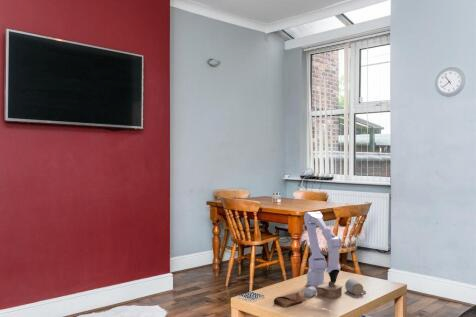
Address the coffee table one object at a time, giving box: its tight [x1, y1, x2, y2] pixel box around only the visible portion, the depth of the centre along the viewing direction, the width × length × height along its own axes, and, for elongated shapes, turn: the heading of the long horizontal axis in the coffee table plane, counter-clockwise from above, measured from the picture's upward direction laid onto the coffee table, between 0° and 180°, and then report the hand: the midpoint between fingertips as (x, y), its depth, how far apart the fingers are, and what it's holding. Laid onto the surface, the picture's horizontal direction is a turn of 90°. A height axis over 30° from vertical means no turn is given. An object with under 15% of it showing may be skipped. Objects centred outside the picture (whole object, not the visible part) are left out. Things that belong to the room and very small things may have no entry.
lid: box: [316, 280, 343, 291], centre depth 239 cm, size 10×10×2 cm
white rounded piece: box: [302, 285, 317, 298], centre depth 237 cm, size 6×5×5 cm
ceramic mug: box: [344, 278, 367, 296], centre depth 244 cm, size 11×8×8 cm
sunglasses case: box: [273, 291, 307, 309], centre depth 227 cm, size 18×7×7 cm, turn 129°
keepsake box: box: [316, 287, 343, 300], centre depth 239 cm, size 10×10×4 cm
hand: (333, 282), depth 243 cm, fingers closed
